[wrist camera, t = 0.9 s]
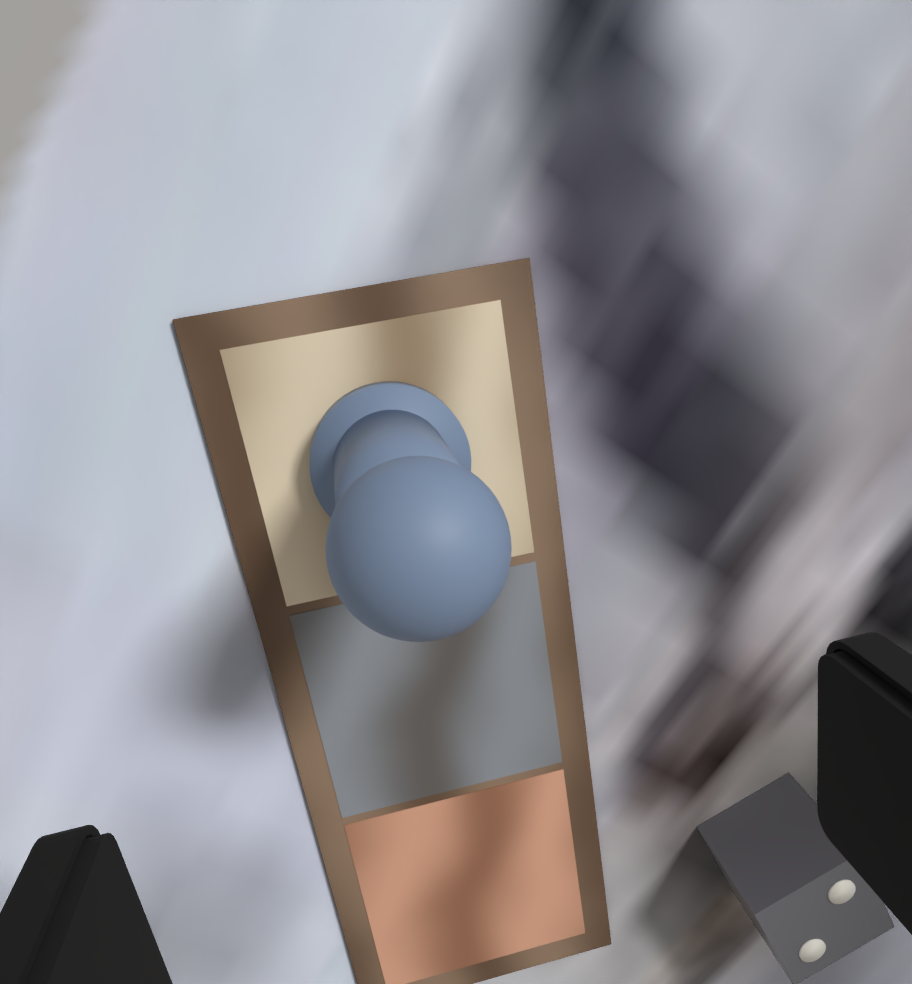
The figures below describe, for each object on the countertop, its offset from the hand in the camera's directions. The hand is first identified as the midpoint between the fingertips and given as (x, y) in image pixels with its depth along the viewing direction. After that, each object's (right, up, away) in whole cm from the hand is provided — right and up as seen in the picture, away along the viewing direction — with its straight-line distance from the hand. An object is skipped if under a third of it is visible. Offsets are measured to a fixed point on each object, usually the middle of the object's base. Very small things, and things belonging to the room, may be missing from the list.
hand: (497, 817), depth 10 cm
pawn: (-3, +5, +17) cm, 18 cm away
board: (-1, -4, +20) cm, 21 cm away
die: (+14, -12, +26) cm, 32 cm away
